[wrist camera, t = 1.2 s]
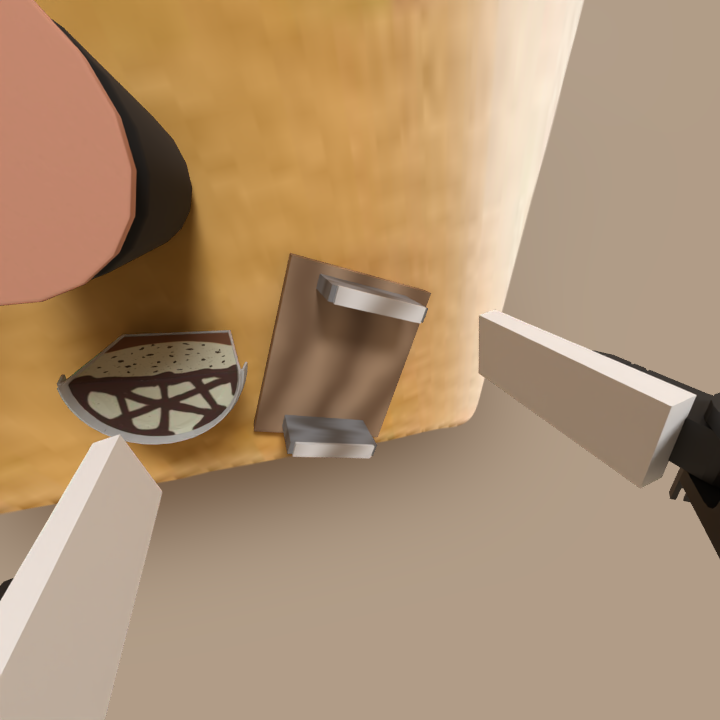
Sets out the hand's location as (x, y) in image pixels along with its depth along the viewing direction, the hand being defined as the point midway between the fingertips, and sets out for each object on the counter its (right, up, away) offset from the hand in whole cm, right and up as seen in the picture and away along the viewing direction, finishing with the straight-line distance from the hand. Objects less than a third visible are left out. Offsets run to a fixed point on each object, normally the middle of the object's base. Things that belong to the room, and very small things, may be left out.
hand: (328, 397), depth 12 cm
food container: (-17, +1, +21) cm, 27 cm away
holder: (-1, +2, +26) cm, 26 cm away
